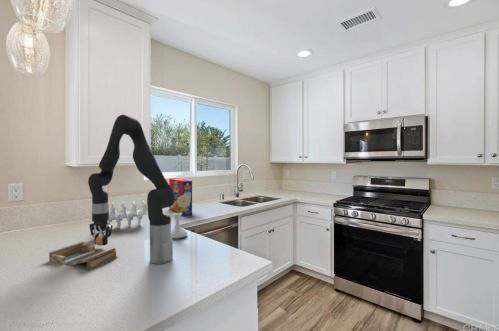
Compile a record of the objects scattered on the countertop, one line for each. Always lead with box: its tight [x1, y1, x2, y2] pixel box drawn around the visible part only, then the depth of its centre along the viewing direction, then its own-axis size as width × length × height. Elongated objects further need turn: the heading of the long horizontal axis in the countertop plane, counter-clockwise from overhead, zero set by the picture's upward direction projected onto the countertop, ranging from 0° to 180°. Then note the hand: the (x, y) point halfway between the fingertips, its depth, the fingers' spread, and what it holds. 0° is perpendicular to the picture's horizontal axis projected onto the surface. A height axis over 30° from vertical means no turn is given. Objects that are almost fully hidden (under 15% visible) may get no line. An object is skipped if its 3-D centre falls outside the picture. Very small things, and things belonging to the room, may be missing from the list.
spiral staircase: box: [109, 200, 148, 229], centre depth 163 cm, size 18×18×25 cm
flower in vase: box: [171, 195, 190, 239], centre depth 146 cm, size 13×11×25 cm
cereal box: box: [168, 177, 193, 217], centre depth 208 cm, size 28×8×28 cm, turn 40°
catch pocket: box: [48, 241, 96, 265], centre depth 116 cm, size 9×15×4 cm, turn 160°
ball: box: [94, 236, 104, 247], centre depth 127 cm, size 5×5×5 cm
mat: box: [62, 250, 119, 272], centre depth 114 cm, size 25×15×1 cm, turn 69°
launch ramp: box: [71, 247, 117, 270], centre depth 111 cm, size 14×12×6 cm
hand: (101, 244), depth 127 cm, fingers closed on ball, 5 cm apart
